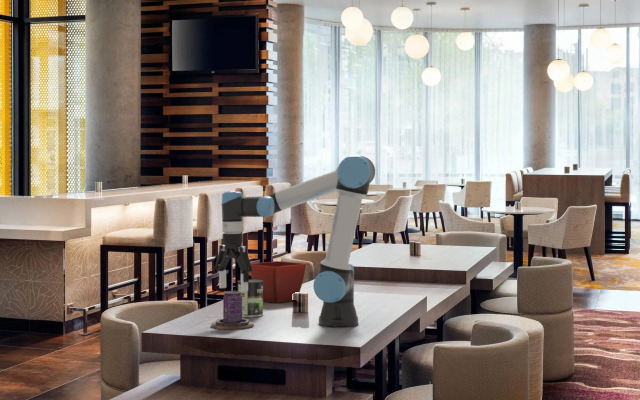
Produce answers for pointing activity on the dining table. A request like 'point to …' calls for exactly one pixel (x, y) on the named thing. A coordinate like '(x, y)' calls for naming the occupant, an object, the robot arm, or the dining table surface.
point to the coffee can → (252, 298)
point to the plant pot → (279, 279)
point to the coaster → (232, 325)
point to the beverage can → (232, 307)
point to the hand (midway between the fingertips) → (233, 289)
